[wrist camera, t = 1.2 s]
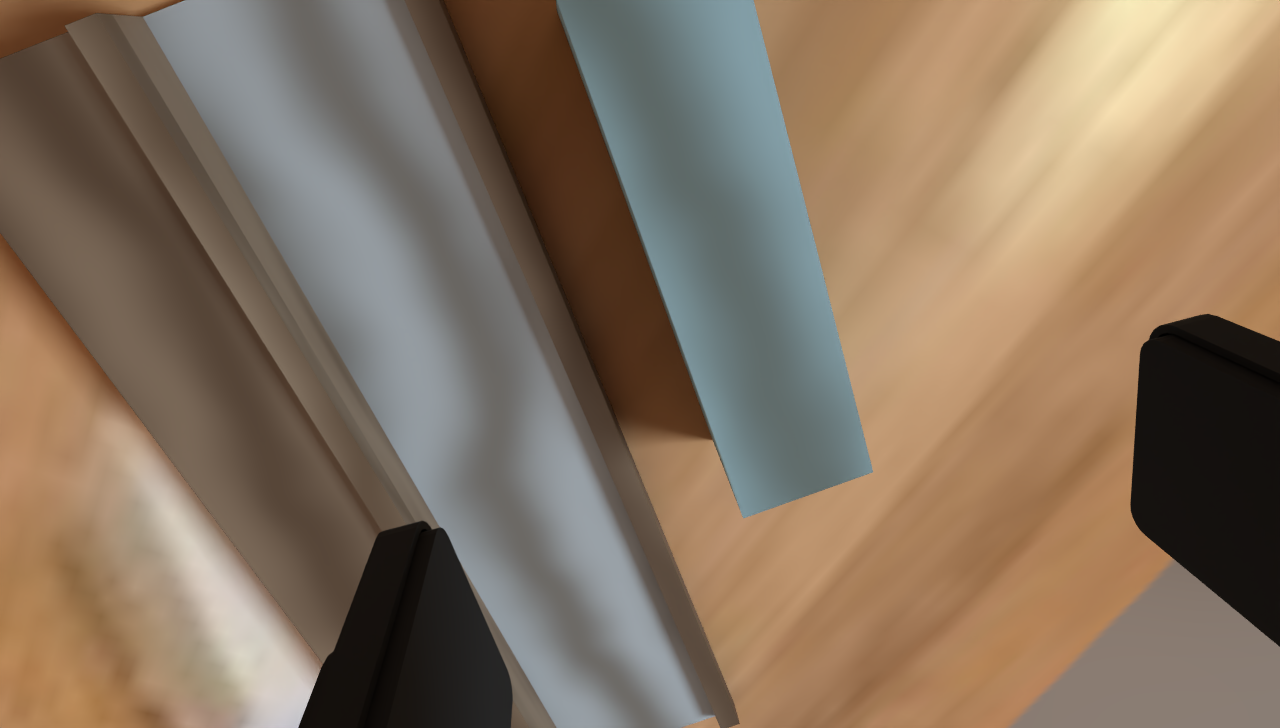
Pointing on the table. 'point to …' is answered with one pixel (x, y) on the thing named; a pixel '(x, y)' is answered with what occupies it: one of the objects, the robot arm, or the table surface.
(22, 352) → the table surface
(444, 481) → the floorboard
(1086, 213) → the table surface
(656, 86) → the teal rectangular block
